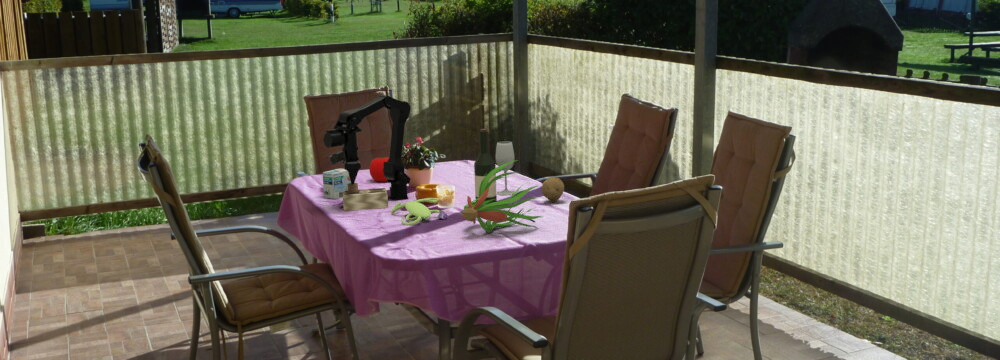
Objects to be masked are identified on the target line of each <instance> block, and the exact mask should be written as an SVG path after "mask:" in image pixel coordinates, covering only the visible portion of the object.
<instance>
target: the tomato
mask: <svg viewBox="0 0 1000 360" xmlns="http://www.w3.org/2000/svg"><path fill="white" fill-rule="evenodd" d="M389 157H390V156H386V157H385V156H382V155H381V157H379V156H378V157H376V158H374V159H372V161H371V162H370V163H369V164H370V165H369V174H370V177H371V178H372V179H373V180H374V181H376V182H381V183H383V182H385V183H386V182H387V183H388V181H387V179H386V177H385V176H384V172H383V168H384V165H383V164H384V162H387V161H388V159H389Z"/></svg>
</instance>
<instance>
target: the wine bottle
mask: <svg viewBox="0 0 1000 360" xmlns="http://www.w3.org/2000/svg"><path fill="white" fill-rule="evenodd" d="M478 132H479V133H478V134H479V135H478V136H479V137H478V138H479V153H478V156H477V158H476V160H475V162H474V164H473V167H474V168H473V169H474V192H475V195H474V196H475V198H474V199H475V200H476V199H478V198H479V187H480V183H481V181H483V180H482V179H484V178H485V177H486V176H487V175H488V174H489V173H490V172H491V171H492V170H494V169H495V168H497V167H496V166H495V165H496V161H494V159H493V158H492V156H491V154H490V152H489V131H488V130H487V128H481V129H480V130H479V131H478ZM491 168H492V169H491ZM486 173H487V174H486ZM485 174H486V175H485ZM496 176H497V174H495V175H493V176H492V177H491V178H490V180H489V181H491V180H492V179H493V178H495V177H496ZM483 177H484V178H483ZM489 181H488V182H489ZM489 191H490V192H489ZM489 191H488V195H487V197H488V198H486V199H485V201H487V200H491V199H495V200H493V201H491V202H489V203H493V202H496V201H498V200H497V180H496V181H494V182H493V183H492V184H491V185H490V187H489ZM489 196H492V197H489ZM478 200H479V199H478ZM478 200H477V201H478ZM489 203H487V204H489ZM487 204H486V205H487ZM483 206H484V205H483ZM481 207H482V206H481Z"/></svg>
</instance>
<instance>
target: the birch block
mask: <svg viewBox="0 0 1000 360" xmlns="http://www.w3.org/2000/svg"><path fill="white" fill-rule="evenodd" d="M373 190H381V191H376V192H371V191H373ZM342 196H343V197H342V208H343V211H344V212H348V211H349V212H350V210H351V211H362V210H361V209H365V210H376V209H388V208H389V200H388V199H389V197H388V191H387V189H386V187H382V188H379V187H378V188H377V187H376V188H365V189H364V188H363V189H358V193H348V191H342Z"/></svg>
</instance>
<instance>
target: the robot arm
mask: <svg viewBox="0 0 1000 360" xmlns="http://www.w3.org/2000/svg"><path fill="white" fill-rule="evenodd" d="M383 108H385V109H386V110H388V111H389V116H390V118H391V122H392V123H391V124H392V125H391V126H392V127H391V135H390V136H391V137H390V145H389V146H390V147H389V156H388V157H389V159H388V161H387V162H384V164H383V165H384V168H383V172H384V176H385V177H386V179H387V183H388V184H390V186H389V188H388V189H389V198H391V200H393V201H396V200H406V199H409V197H408V184H410V182H411V178H410V176H409V175H408V174H407V173H406V172H405V164H404V161H403V147H404V138H405V125H406V122H407V121H408V120H409V117H410V114H411V110H412V109H411V105H410V103H409V102H408V101H406V100H399V99H396V98H394V97H391V96H390V95H387V94H380V95H378V97H375V98H374V99H372V100H370V101H367V103H364V104H363V105H361V106H359V107H357V108H353V109H347V110H344V111H342V112H341V113H339V115H338V119H337V120H336V123H335V125H334V126H333V128H332V129H326V132H325V133H324V135H323V144H324V145H325V147H326V148H336V147H341V146H342V147H341V150H340V151H337V152H334V153H332V154H330V155H328V159H329V161H330V164H331V166H333V165H336V164H337V163H339V162H342V164H343V169H344V170H347V171H348V173H349V177H350V181H351V184H354V183H356V180H357V177H358V173H359V171H360V169H361V167H362V166H361V165H362V164H361V162H360V161H359V160H360V158H359V145H358V133H359V132H360V133H361V132H362V131H363V130H362V128H360V127H359V124H361V123H362V121H363V120H364V119H365V118H366V117H368V116H370V115H372V114H374V113H375V112H377V111H380V110H382V109H383Z"/></svg>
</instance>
